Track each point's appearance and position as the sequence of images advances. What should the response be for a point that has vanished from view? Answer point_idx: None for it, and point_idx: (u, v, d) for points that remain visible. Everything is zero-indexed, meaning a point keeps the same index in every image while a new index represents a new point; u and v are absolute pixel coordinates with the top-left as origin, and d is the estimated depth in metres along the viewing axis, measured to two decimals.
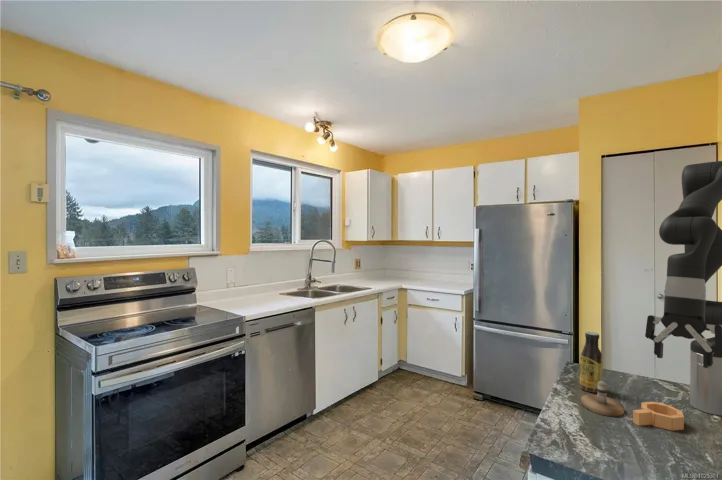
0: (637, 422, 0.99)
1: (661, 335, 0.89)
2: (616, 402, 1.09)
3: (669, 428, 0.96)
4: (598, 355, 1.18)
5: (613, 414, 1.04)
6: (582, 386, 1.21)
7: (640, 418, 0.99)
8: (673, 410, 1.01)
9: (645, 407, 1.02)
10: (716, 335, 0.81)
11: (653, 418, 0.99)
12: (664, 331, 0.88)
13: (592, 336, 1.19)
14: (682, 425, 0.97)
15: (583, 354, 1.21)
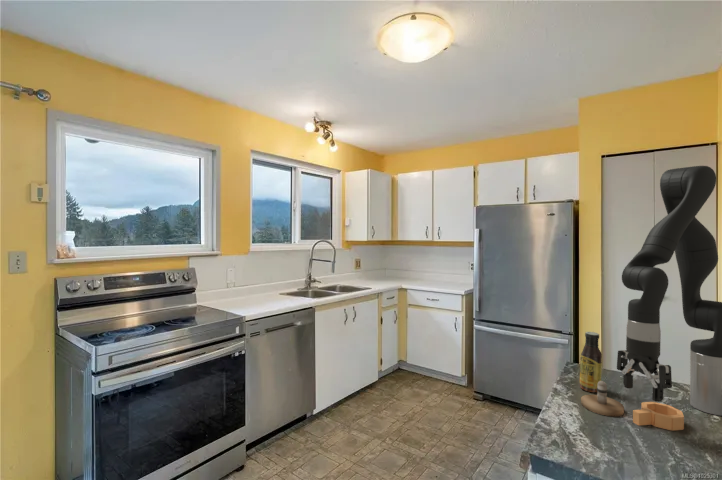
0: (637, 422, 0.99)
1: (626, 369, 1.03)
2: (616, 402, 1.09)
3: (669, 428, 0.96)
4: (598, 355, 1.18)
5: (613, 414, 1.04)
6: (582, 386, 1.21)
7: (640, 418, 0.99)
8: (673, 410, 1.01)
9: (645, 407, 1.02)
10: (660, 374, 0.93)
11: (653, 418, 0.99)
12: (627, 365, 1.02)
13: (592, 336, 1.19)
14: (682, 425, 0.97)
15: (583, 354, 1.21)
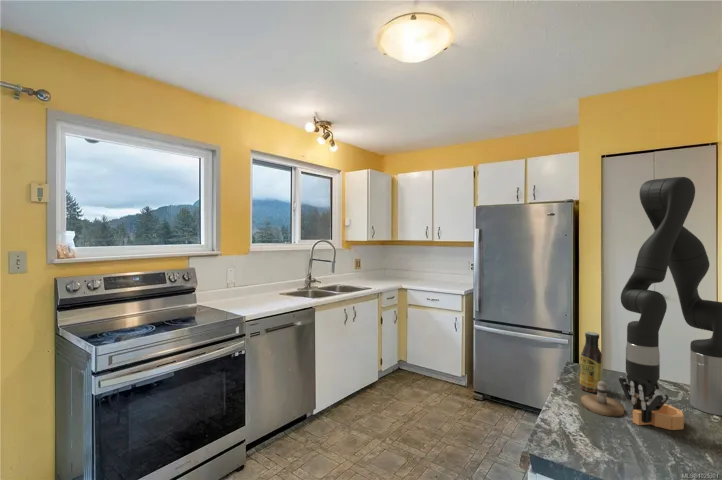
0: (637, 422, 0.99)
1: (633, 396, 1.01)
2: (616, 402, 1.09)
3: (669, 428, 0.96)
4: (598, 355, 1.18)
5: (613, 414, 1.04)
6: (582, 386, 1.21)
7: (640, 418, 0.99)
8: (673, 410, 1.01)
9: None
10: (654, 400, 0.95)
11: (653, 418, 0.99)
12: (631, 392, 1.01)
13: (592, 336, 1.19)
14: (682, 425, 0.96)
15: (583, 354, 1.21)
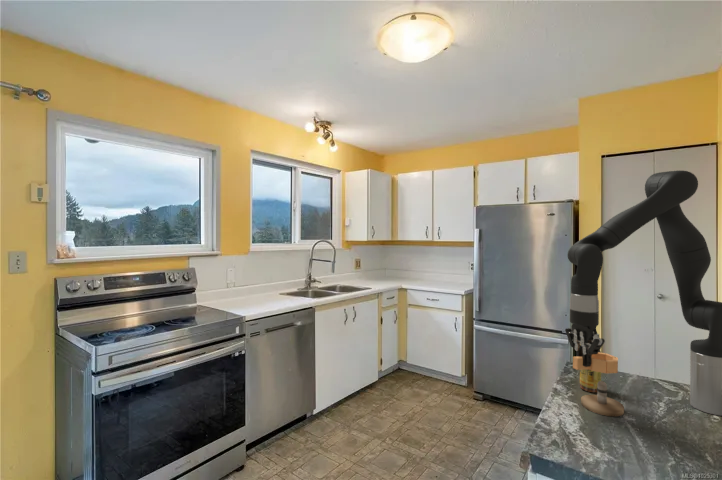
0: (576, 367, 1.07)
1: (575, 343, 1.09)
2: (616, 402, 1.09)
3: (604, 371, 1.04)
4: None
5: (613, 414, 1.04)
6: (582, 386, 1.21)
7: (578, 363, 1.07)
8: (610, 357, 1.09)
9: None
10: (592, 344, 1.03)
11: None
12: (574, 339, 1.09)
13: None
14: (616, 369, 1.05)
15: None
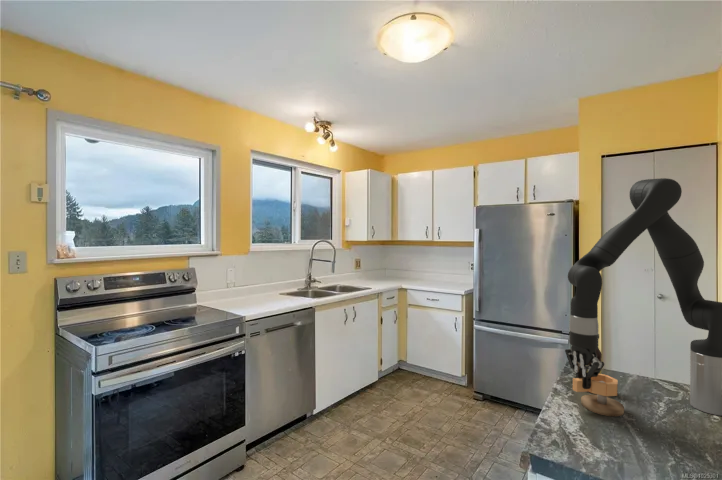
0: (576, 389, 1.07)
1: (575, 365, 1.09)
2: (616, 402, 1.09)
3: (603, 394, 1.05)
4: (598, 355, 1.18)
5: (613, 414, 1.04)
6: None
7: (578, 385, 1.07)
8: (610, 379, 1.09)
9: None
10: (591, 367, 1.03)
11: None
12: (574, 361, 1.09)
13: None
14: (616, 391, 1.05)
15: None
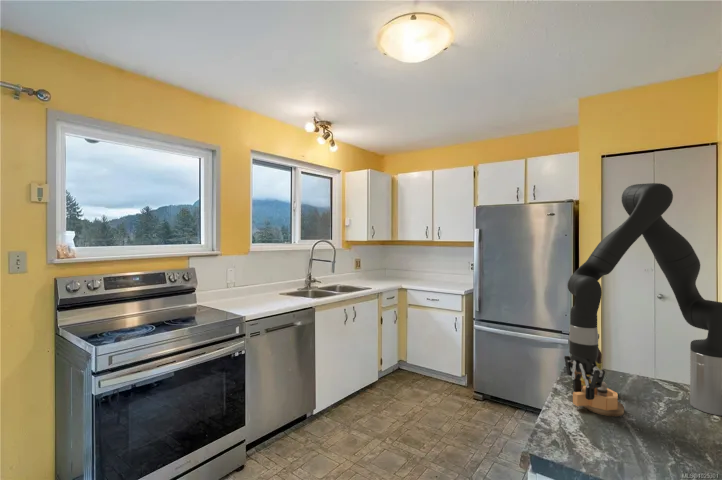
0: (576, 403, 1.07)
1: (573, 373, 1.10)
2: None
3: (604, 408, 1.05)
4: (598, 355, 1.18)
5: (613, 414, 1.04)
6: (582, 386, 1.21)
7: (578, 400, 1.07)
8: (610, 392, 1.09)
9: (585, 390, 1.10)
10: (593, 376, 1.03)
11: None
12: (572, 369, 1.10)
13: None
14: (616, 405, 1.05)
15: None
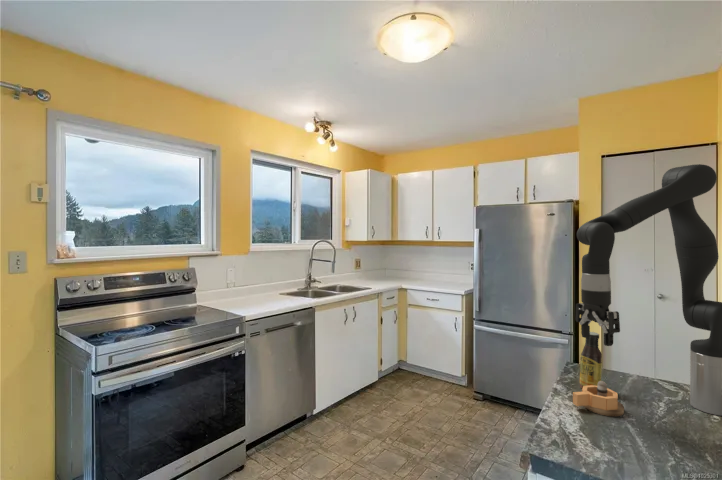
0: (576, 403, 1.07)
1: (582, 319, 1.10)
2: None
3: (604, 408, 1.05)
4: (598, 355, 1.18)
5: (613, 414, 1.04)
6: (582, 386, 1.21)
7: (578, 400, 1.07)
8: (610, 392, 1.09)
9: (585, 390, 1.10)
10: (609, 320, 1.01)
11: (590, 399, 1.07)
12: (583, 316, 1.10)
13: (592, 336, 1.19)
14: (616, 405, 1.05)
15: (583, 354, 1.21)
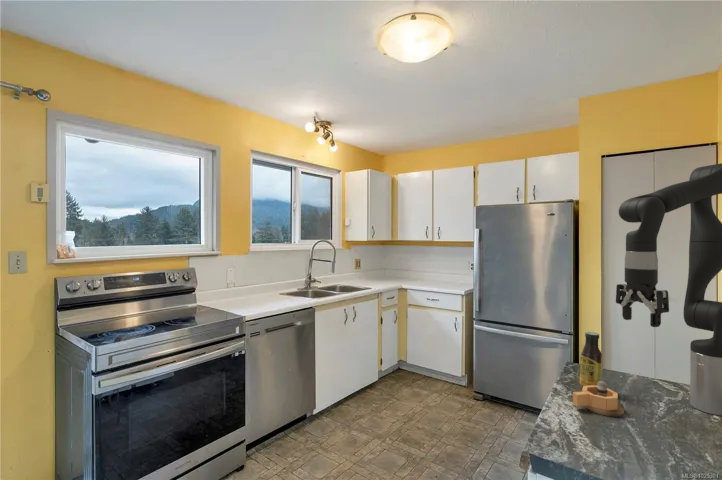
0: (576, 403, 1.07)
1: (624, 300, 1.05)
2: None
3: (604, 408, 1.05)
4: (598, 355, 1.18)
5: (613, 414, 1.04)
6: (582, 386, 1.21)
7: (578, 400, 1.07)
8: (610, 392, 1.09)
9: (585, 390, 1.10)
10: (657, 299, 0.95)
11: (590, 399, 1.07)
12: (625, 297, 1.05)
13: (592, 336, 1.19)
14: (616, 405, 1.05)
15: (583, 354, 1.21)
